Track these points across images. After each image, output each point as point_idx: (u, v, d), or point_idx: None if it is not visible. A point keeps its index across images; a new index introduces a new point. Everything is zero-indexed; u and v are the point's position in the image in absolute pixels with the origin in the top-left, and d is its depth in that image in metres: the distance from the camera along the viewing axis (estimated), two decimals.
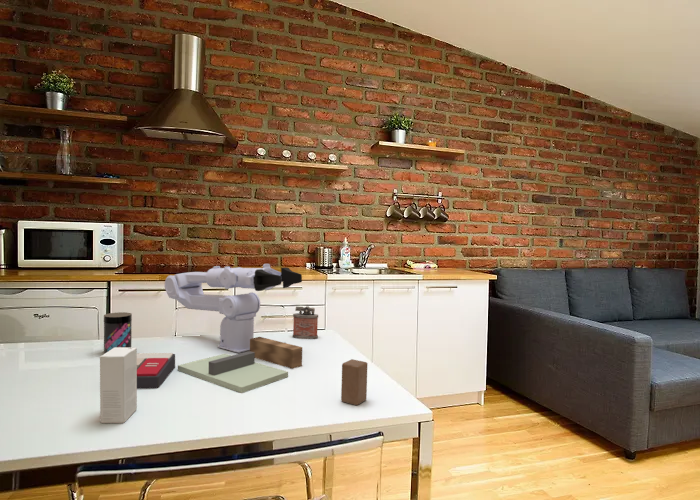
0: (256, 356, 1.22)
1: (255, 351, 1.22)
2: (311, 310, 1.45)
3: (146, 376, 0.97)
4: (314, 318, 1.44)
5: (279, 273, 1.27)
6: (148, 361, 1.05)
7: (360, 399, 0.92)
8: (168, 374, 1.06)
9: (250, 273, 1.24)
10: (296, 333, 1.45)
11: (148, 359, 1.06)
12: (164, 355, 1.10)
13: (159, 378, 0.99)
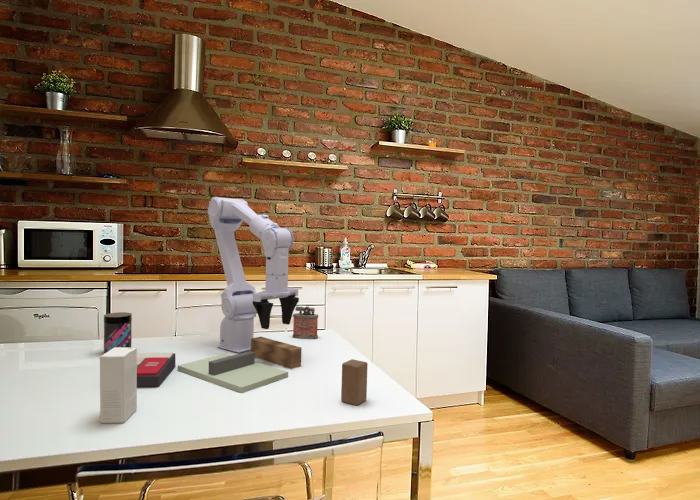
0: (257, 356, 1.22)
1: (256, 351, 1.22)
2: (311, 310, 1.45)
3: (146, 375, 0.98)
4: (314, 318, 1.44)
5: None
6: (148, 360, 1.05)
7: (360, 399, 0.92)
8: (168, 373, 1.06)
9: (274, 278, 1.16)
10: (296, 333, 1.45)
11: (148, 358, 1.07)
12: (164, 355, 1.10)
13: (159, 377, 0.99)
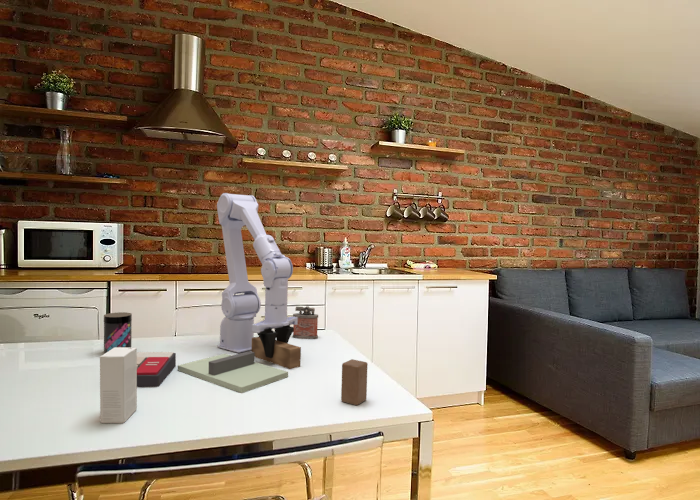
0: (257, 355, 1.22)
1: (256, 350, 1.23)
2: (311, 310, 1.45)
3: (147, 375, 0.98)
4: (314, 318, 1.44)
5: None
6: (149, 360, 1.06)
7: (360, 399, 0.92)
8: (168, 373, 1.07)
9: (273, 309, 1.17)
10: (296, 333, 1.45)
11: (149, 358, 1.07)
12: (165, 354, 1.11)
13: (159, 377, 0.99)
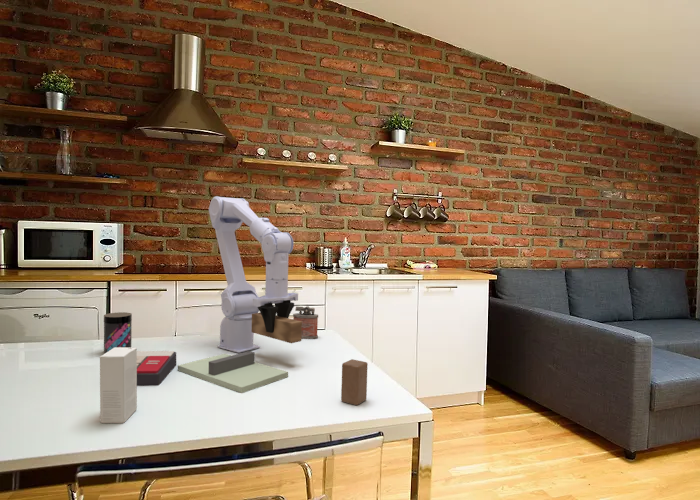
0: (257, 331, 1.22)
1: (256, 326, 1.22)
2: (311, 310, 1.45)
3: (147, 373, 0.99)
4: (314, 318, 1.44)
5: (291, 297, 1.22)
6: (149, 359, 1.07)
7: (360, 399, 0.92)
8: None
9: (274, 283, 1.16)
10: None
11: (149, 357, 1.08)
12: (165, 353, 1.11)
13: (160, 375, 1.00)
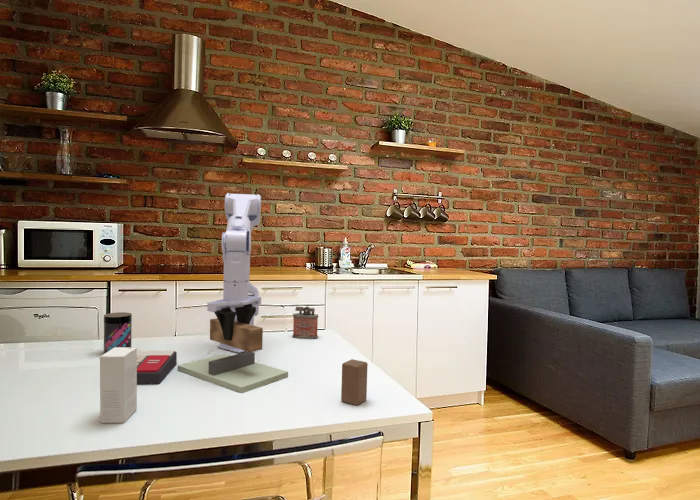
0: (216, 338, 1.11)
1: (215, 333, 1.11)
2: (311, 310, 1.45)
3: (147, 372, 1.00)
4: (314, 318, 1.44)
5: None
6: (150, 358, 1.07)
7: (360, 399, 0.92)
8: (169, 371, 1.08)
9: (232, 286, 1.05)
10: (296, 333, 1.45)
11: (150, 356, 1.08)
12: (166, 352, 1.12)
13: (160, 374, 1.01)
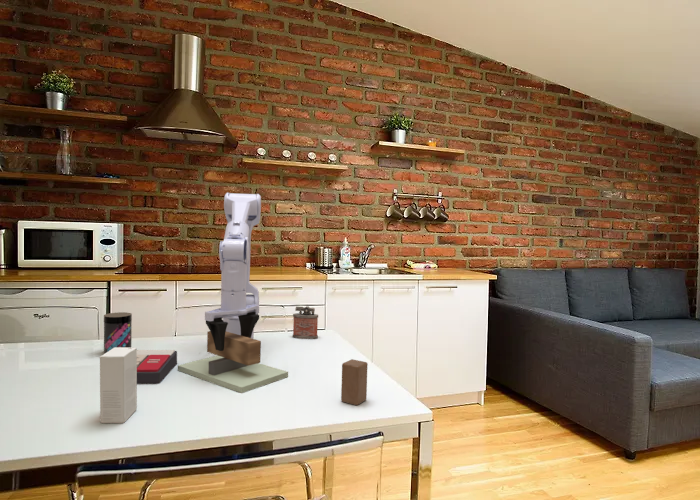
0: (213, 351, 1.10)
1: (212, 345, 1.11)
2: (311, 310, 1.45)
3: (147, 372, 1.00)
4: (314, 318, 1.44)
5: (250, 310, 1.11)
6: (150, 357, 1.08)
7: (360, 399, 0.92)
8: (169, 370, 1.09)
9: (229, 295, 1.05)
10: (296, 333, 1.45)
11: (150, 356, 1.09)
12: (166, 352, 1.12)
13: (160, 374, 1.01)
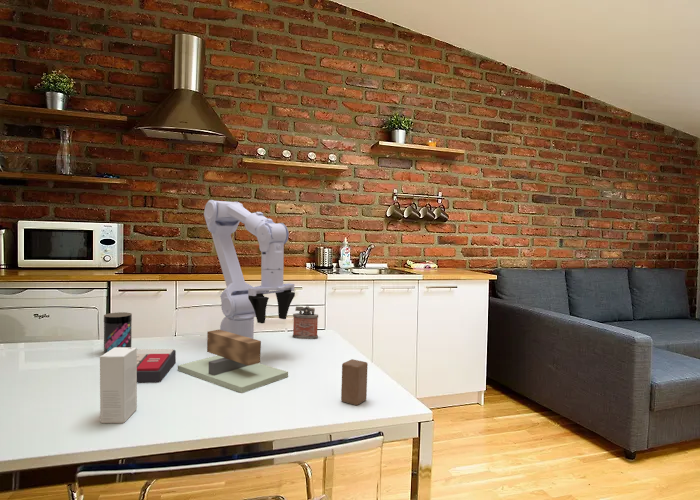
0: (213, 351, 1.10)
1: (212, 345, 1.11)
2: (311, 310, 1.45)
3: (148, 371, 1.01)
4: (314, 318, 1.44)
5: (287, 287, 1.23)
6: (150, 357, 1.08)
7: (360, 399, 0.92)
8: (169, 369, 1.10)
9: (269, 273, 1.17)
10: (296, 333, 1.45)
11: (150, 355, 1.10)
12: (165, 351, 1.13)
13: (161, 373, 1.02)
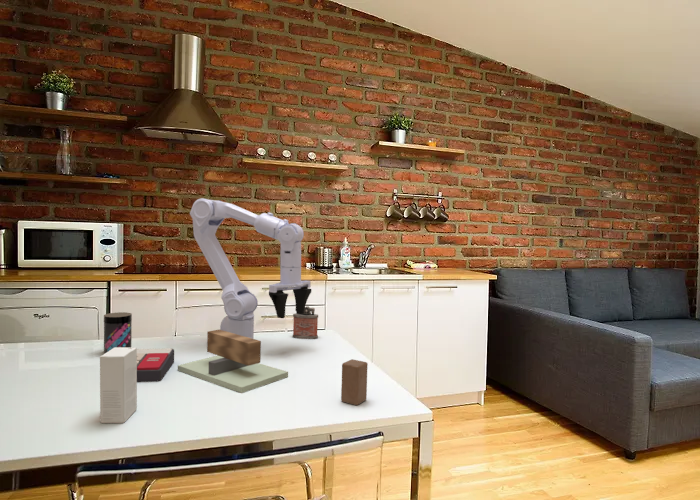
0: (213, 351, 1.10)
1: (212, 345, 1.11)
2: (311, 310, 1.45)
3: (149, 370, 1.02)
4: (314, 318, 1.44)
5: (304, 284, 1.30)
6: (149, 356, 1.09)
7: (360, 399, 0.92)
8: (168, 368, 1.10)
9: (288, 271, 1.24)
10: (296, 333, 1.45)
11: (149, 354, 1.10)
12: (164, 350, 1.14)
13: (161, 372, 1.03)
